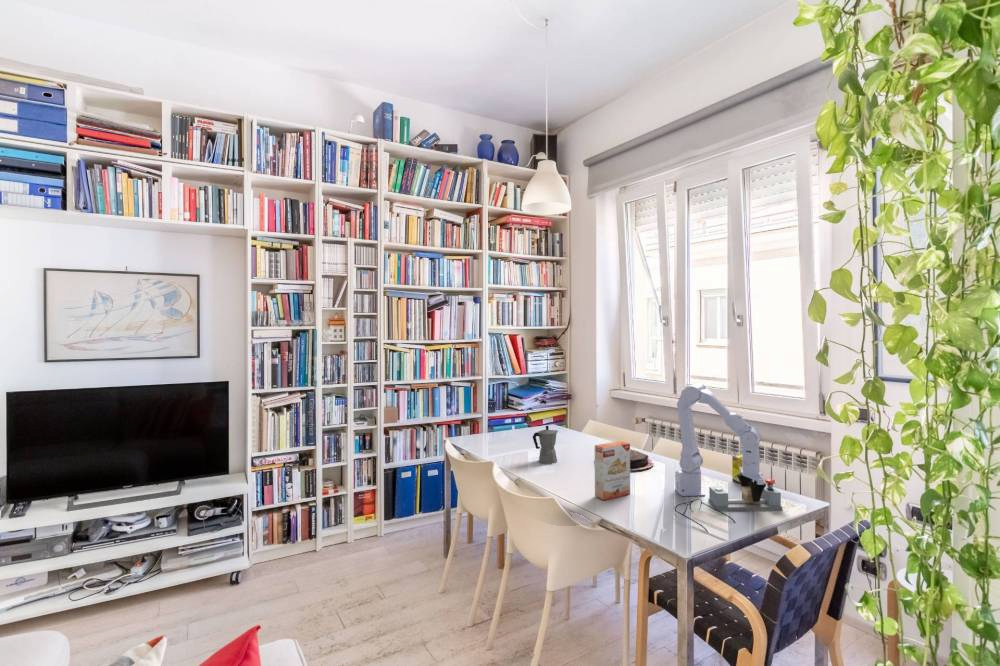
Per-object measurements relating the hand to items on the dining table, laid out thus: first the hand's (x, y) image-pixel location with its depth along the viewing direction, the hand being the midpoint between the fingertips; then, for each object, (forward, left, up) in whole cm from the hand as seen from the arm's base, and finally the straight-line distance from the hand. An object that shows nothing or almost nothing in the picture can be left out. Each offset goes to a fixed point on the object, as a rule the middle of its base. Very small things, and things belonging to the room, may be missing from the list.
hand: (751, 497), depth 181 cm
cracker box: (-49, +12, -3) cm, 51 cm away
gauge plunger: (+7, 0, +3) cm, 7 cm away
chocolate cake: (-35, +55, -4) cm, 65 cm away
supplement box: (+9, +26, -3) cm, 28 cm away
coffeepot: (-73, +59, -3) cm, 94 cm away
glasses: (-22, -13, -4) cm, 26 cm away
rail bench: (-3, 0, -3) cm, 4 cm away
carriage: (0, 0, -2) cm, 2 cm away
